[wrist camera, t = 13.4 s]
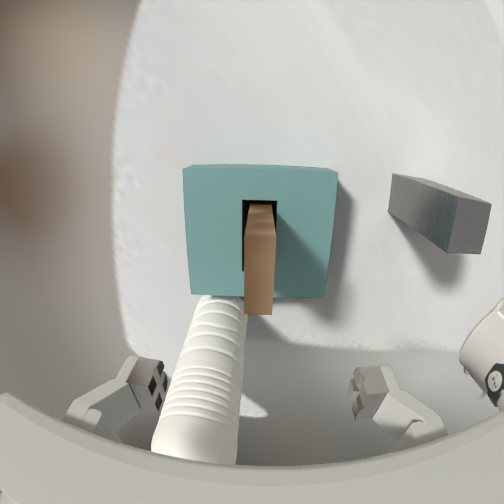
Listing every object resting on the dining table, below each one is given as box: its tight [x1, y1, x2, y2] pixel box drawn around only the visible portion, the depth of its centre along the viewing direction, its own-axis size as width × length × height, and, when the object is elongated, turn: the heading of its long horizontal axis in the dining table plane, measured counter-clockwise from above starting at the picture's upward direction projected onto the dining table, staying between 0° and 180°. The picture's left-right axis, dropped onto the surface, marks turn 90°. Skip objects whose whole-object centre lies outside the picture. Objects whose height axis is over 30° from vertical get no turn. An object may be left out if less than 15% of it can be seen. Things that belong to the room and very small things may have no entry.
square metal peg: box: [388, 174, 491, 254], centre depth 22 cm, size 4×4×12 cm
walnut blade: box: [244, 200, 276, 315], centre depth 24 cm, size 2×6×12 cm, turn 179°
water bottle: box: [151, 295, 248, 465], centre depth 23 cm, size 9×6×25 cm
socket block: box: [183, 164, 338, 298], centre depth 27 cm, size 14×13×4 cm
